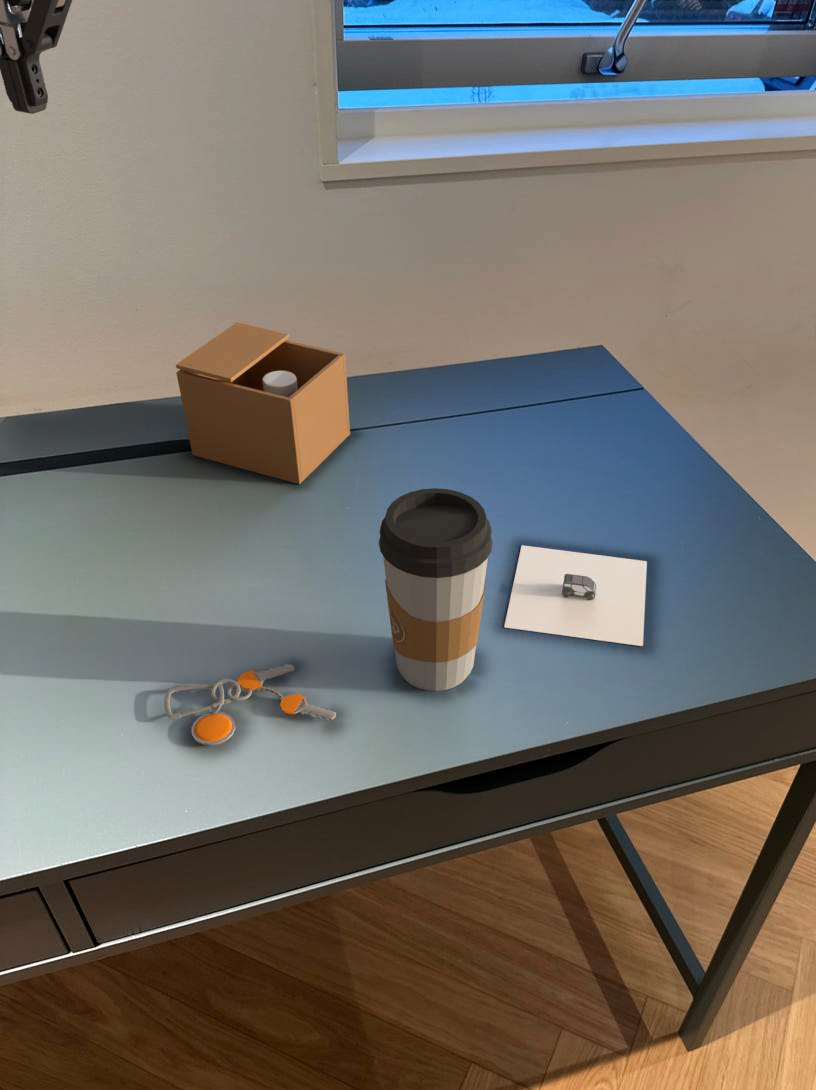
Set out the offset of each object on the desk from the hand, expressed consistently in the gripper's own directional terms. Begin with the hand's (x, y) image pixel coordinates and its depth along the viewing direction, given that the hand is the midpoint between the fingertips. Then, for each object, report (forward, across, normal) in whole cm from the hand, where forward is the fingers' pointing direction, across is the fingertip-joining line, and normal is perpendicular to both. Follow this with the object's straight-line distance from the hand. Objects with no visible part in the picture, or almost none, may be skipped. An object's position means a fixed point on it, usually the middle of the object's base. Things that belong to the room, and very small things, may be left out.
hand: (31, 110), depth 75 cm
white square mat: (+33, -50, 0) cm, 60 cm away
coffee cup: (+33, -42, +14) cm, 55 cm away
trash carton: (+33, -12, -10) cm, 37 cm away
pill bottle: (+33, -14, -10) cm, 37 cm away
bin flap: (+23, -9, -10) cm, 27 cm away
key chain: (+33, -31, +24) cm, 51 cm away
